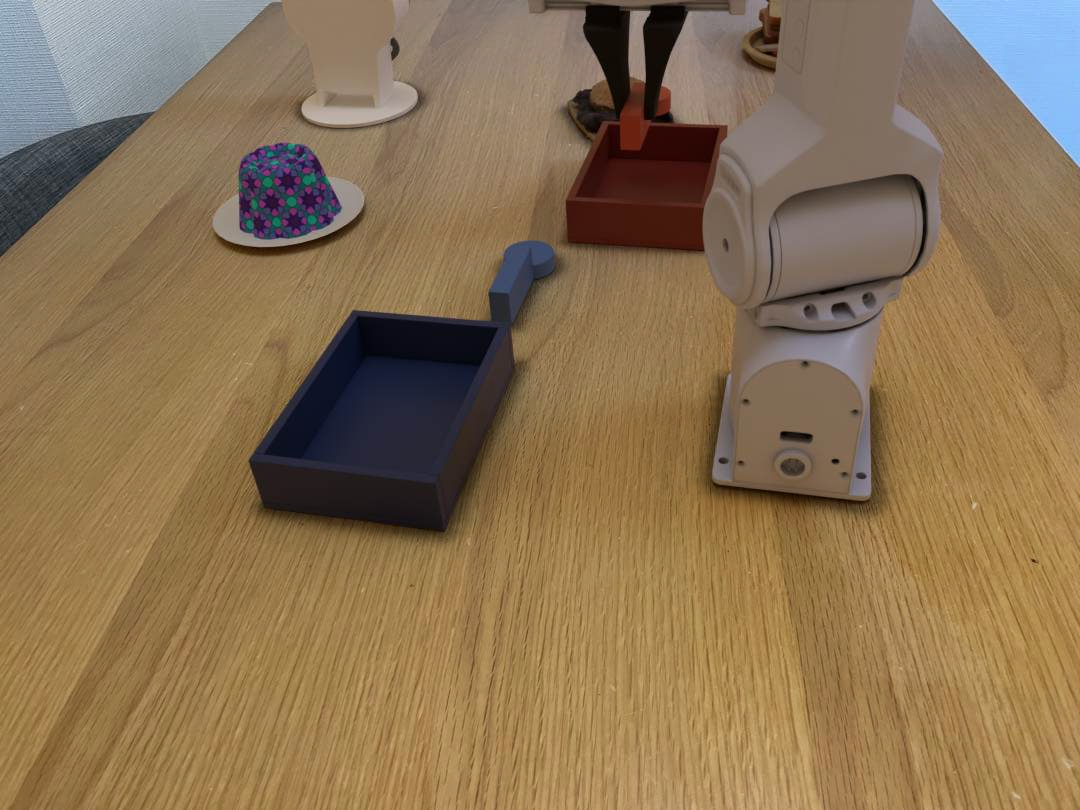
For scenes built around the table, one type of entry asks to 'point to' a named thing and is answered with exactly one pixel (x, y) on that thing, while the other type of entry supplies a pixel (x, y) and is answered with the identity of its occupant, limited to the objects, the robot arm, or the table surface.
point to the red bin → (645, 187)
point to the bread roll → (600, 108)
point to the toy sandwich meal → (765, 35)
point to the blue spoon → (518, 277)
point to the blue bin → (387, 420)
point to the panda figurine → (352, 60)
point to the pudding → (285, 199)
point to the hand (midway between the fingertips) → (637, 114)
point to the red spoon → (639, 116)
